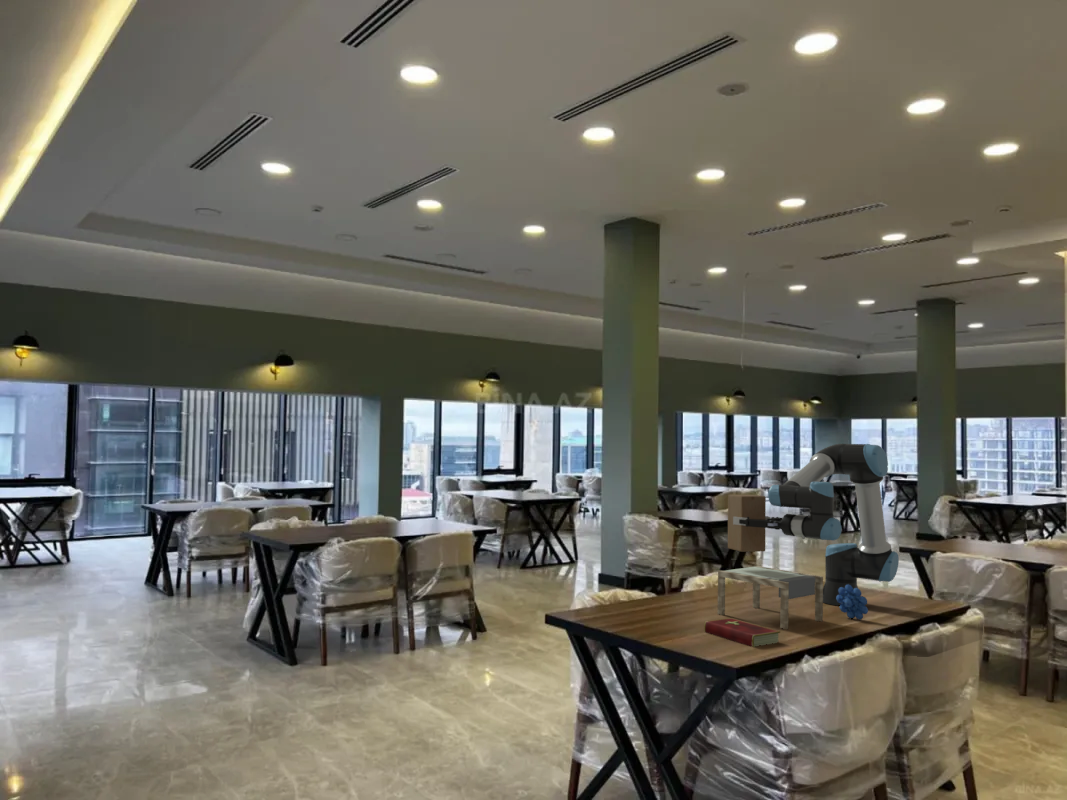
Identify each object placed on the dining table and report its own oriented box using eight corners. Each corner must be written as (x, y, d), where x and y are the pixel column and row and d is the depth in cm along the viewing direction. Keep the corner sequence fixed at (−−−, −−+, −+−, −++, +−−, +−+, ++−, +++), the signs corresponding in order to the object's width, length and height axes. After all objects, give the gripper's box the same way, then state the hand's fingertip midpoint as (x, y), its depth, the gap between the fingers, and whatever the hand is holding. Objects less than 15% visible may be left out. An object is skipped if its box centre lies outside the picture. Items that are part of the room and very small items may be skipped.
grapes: (830, 617, 291) (830, 583, 292) (839, 615, 296) (839, 581, 296) (862, 623, 283) (862, 588, 283) (870, 620, 287) (871, 586, 288)
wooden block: (765, 551, 294) (766, 496, 295) (741, 551, 291) (741, 496, 293) (750, 547, 304) (751, 494, 305) (727, 548, 301) (727, 494, 302)
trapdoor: (817, 593, 285) (817, 576, 285) (786, 599, 273) (786, 581, 273) (754, 582, 305) (754, 566, 305) (723, 587, 293) (723, 570, 293)
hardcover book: (752, 648, 246) (752, 634, 246) (704, 633, 264) (704, 620, 264) (780, 644, 253) (780, 630, 253) (730, 629, 270) (731, 617, 271)
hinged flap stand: (822, 621, 285) (823, 576, 286) (785, 629, 271) (785, 582, 271) (755, 607, 307) (755, 565, 307) (717, 614, 292) (718, 570, 293)
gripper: (775, 538, 274) (723, 531, 291) (815, 534, 290) (763, 528, 306) (775, 515, 274) (724, 510, 291) (815, 513, 290) (764, 508, 307)
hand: (744, 519), depth 299 cm, fingers closed on wooden block, 12 cm apart
